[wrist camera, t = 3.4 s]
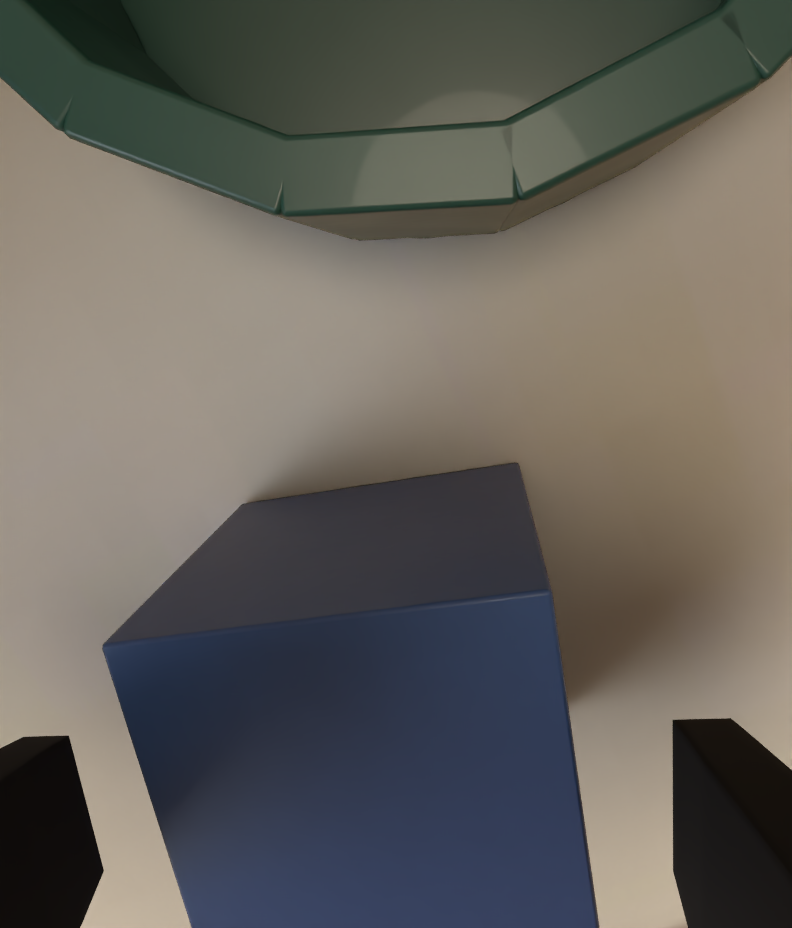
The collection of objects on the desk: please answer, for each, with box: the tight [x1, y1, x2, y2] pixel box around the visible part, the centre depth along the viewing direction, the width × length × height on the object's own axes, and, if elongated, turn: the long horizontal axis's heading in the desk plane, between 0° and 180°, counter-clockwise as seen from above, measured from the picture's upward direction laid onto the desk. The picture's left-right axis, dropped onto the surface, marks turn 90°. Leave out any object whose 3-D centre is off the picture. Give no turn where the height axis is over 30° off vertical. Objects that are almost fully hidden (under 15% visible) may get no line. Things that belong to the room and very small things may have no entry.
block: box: [102, 463, 599, 928], centre depth 10 cm, size 5×5×5 cm
